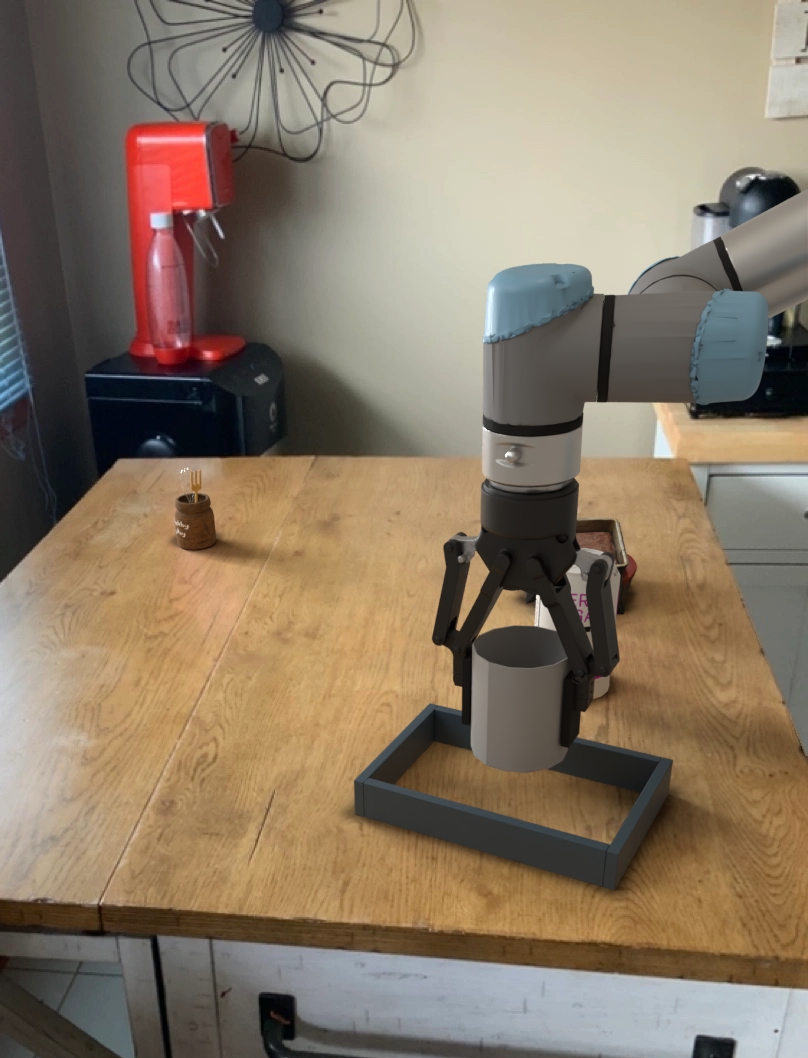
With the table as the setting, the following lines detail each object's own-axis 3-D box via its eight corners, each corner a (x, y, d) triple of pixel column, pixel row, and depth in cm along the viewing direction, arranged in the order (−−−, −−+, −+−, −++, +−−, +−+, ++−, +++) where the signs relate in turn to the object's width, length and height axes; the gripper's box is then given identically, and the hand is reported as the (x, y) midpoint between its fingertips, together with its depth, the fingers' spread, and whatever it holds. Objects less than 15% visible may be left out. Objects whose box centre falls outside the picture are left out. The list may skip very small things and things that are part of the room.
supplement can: (582, 666, 127) (592, 540, 120) (623, 698, 120) (637, 567, 113) (517, 680, 125) (524, 553, 118) (555, 714, 118) (565, 581, 111)
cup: (543, 717, 104) (549, 619, 99) (584, 762, 97) (591, 658, 92) (457, 733, 103) (458, 634, 98) (491, 779, 96) (494, 675, 91)
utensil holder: (209, 533, 172) (202, 456, 166) (222, 546, 167) (215, 467, 161) (172, 540, 170) (163, 462, 164) (184, 554, 165) (175, 474, 159)
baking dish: (508, 629, 141) (518, 560, 135) (521, 556, 154) (530, 490, 148) (627, 643, 138) (642, 574, 132) (630, 568, 151) (644, 501, 145)
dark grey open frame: (667, 800, 104) (673, 759, 101) (613, 897, 92) (618, 854, 90) (429, 740, 115) (429, 702, 113) (354, 820, 104) (353, 780, 102)
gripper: (386, 478, 91) (392, 722, 102) (653, 508, 80) (627, 777, 91) (427, 452, 96) (428, 687, 107) (681, 477, 86) (653, 734, 97)
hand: (519, 728), depth 99 cm, fingers closed on cup, 8 cm apart
